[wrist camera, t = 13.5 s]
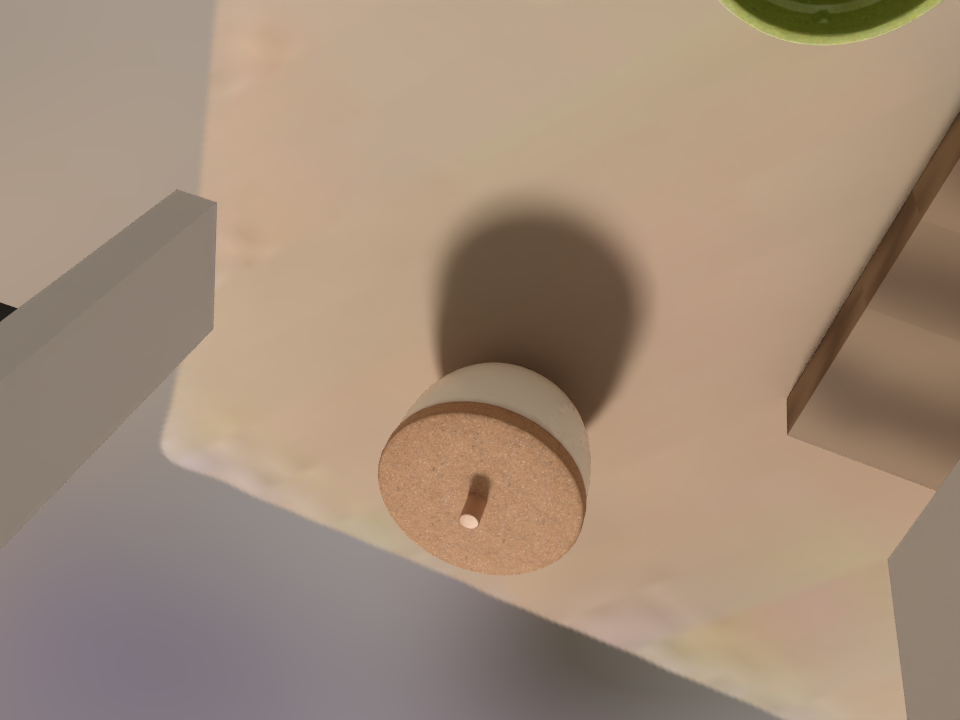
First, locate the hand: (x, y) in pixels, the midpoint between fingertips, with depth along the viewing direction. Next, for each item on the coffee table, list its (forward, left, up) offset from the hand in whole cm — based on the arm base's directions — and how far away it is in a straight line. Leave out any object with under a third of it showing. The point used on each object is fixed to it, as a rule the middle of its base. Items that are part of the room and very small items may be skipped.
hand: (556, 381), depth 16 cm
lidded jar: (+23, -1, -28) cm, 36 cm away
